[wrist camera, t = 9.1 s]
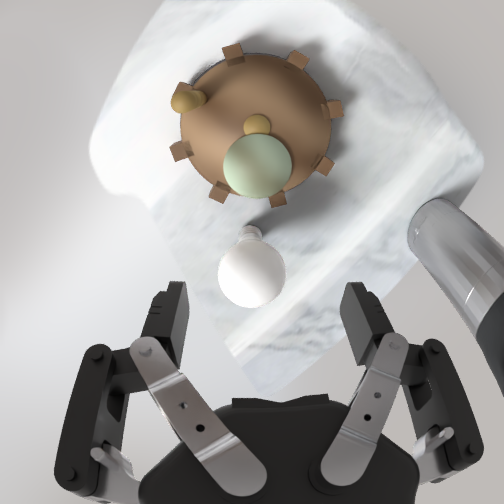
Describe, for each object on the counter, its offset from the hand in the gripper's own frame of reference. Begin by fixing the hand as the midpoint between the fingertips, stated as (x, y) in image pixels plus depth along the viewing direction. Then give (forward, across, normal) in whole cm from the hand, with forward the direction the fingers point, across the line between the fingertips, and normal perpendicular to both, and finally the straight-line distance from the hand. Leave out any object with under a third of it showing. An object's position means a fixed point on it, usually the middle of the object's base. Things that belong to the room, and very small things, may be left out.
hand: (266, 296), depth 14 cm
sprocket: (+19, 0, -6) cm, 20 cm away
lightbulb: (+19, 0, +7) cm, 20 cm away
